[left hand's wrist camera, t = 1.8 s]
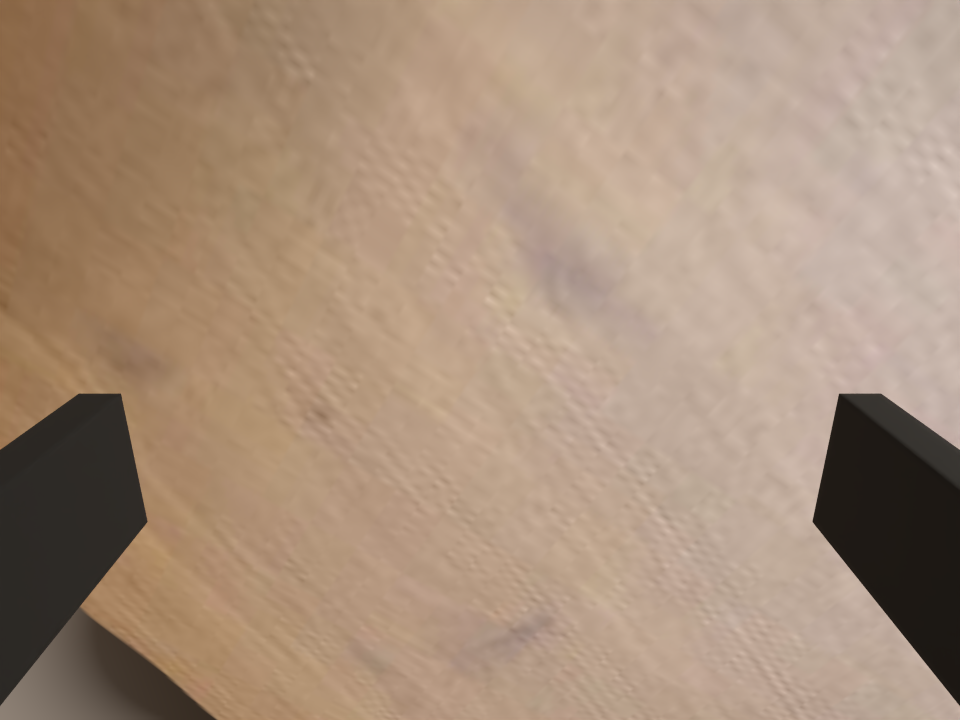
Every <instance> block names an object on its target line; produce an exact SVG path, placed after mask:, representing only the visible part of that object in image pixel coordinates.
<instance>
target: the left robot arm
mask: <svg viewBox="0 0 960 720" xmlns="http://www.w3.org/2000/svg"><path fill="white" fill-rule="evenodd" d="M146 523H147V517H146V512H145V508H144V503H143V498H142V493H141V488H140V483H139V479H138V474H137V469H136V464H135V459H134V455H133V450H132V445H131V440H130V435H129V431H128V426H127V421H126V416H125V411H124V407H123V402H122V397H121V394H78V395H76V396H75V397H74V398H72V399H71V400H69V401H68V402H67V403H65V404H64V405H62V406H61V407H60V408H58V409H57V410H56V411H54V412H53V413H51V414H50V415H49V416H47V417H46V418H44V419H43V420H42V421H40V422H39V423H37V424H36V425H35V426H33V427H32V428H30V429H29V430H28V431H26V432H25V433H23V434H22V435H21V436H19V437H18V438H16V439H15V440H14V441H12V442H11V443H9V444H8V445H7V446H5V447H4V448H2V449H1V450H0V705H1V704H2V703H3V702H4V700H5V699H6V698H7V697H8V695H9V694H10V693H11V692H12V690H13V689H14V688H15V687H16V685H17V684H18V683H19V682H20V680H21V679H22V678H23V677H24V675H25V674H26V673H27V672H28V670H29V669H30V668H31V667H32V665H33V664H34V663H35V662H36V660H37V659H38V658H39V657H40V655H41V654H42V653H43V652H44V650H45V649H46V648H47V647H48V645H49V644H50V643H51V642H52V640H53V639H54V638H55V637H56V635H57V634H58V633H59V632H60V630H61V629H62V628H63V627H64V625H65V624H66V623H67V622H68V620H69V619H70V618H71V617H72V615H73V614H74V613H75V612H76V610H77V609H78V608H79V607H80V605H81V604H82V603H83V602H84V600H85V599H86V598H87V597H88V595H89V594H90V593H91V592H92V590H93V589H94V588H95V587H96V585H97V584H98V583H99V582H100V581H101V579H102V578H103V577H104V576H105V574H106V573H107V572H108V571H109V569H110V568H111V567H112V566H113V564H114V563H115V562H116V561H117V559H118V558H119V557H120V556H121V554H122V553H123V552H124V551H125V549H126V548H127V547H128V546H129V544H130V543H131V542H132V541H133V539H134V538H135V537H136V536H137V534H138V533H139V532H140V531H141V529H142V528H143V527H144V526H145V524H146ZM813 523H814V524H815V526H816V527H817V528H818V529H819V531H820V532H821V533H822V534H823V536H824V537H825V538H826V539H827V541H828V542H829V543H830V544H831V546H832V547H833V548H834V549H835V551H836V552H837V553H838V554H839V556H840V557H841V558H842V559H843V561H844V562H845V563H846V564H847V566H848V567H849V568H850V569H851V571H852V572H853V573H854V574H855V576H856V577H857V578H858V579H859V581H860V582H861V583H862V584H863V586H864V587H865V588H866V589H867V590H868V592H869V593H870V594H871V595H872V597H873V598H874V599H875V600H876V602H877V603H878V604H879V605H880V607H881V608H882V609H883V610H884V612H885V613H886V614H887V615H888V617H889V618H890V619H891V620H892V622H893V623H894V624H895V625H896V627H897V628H898V629H899V630H900V632H901V633H902V634H903V635H904V637H905V638H906V639H907V640H908V642H909V643H910V644H911V645H912V647H913V648H914V649H915V650H916V652H917V653H918V654H919V655H920V657H921V658H922V659H923V660H924V662H925V663H926V664H927V665H928V667H929V668H930V669H931V670H932V672H933V673H934V674H935V675H936V677H937V678H938V679H939V680H940V682H941V683H942V684H943V685H944V687H945V688H946V689H947V690H948V692H949V693H950V694H951V695H952V697H953V698H954V699H955V700H956V702H957V703H958V704H959V705H960V450H959V449H958V448H956V447H955V446H953V445H952V444H951V443H949V442H948V441H946V440H945V439H944V438H942V437H941V436H939V435H938V434H937V433H935V432H934V431H932V430H931V429H930V428H928V427H927V426H925V425H924V424H923V423H921V422H920V421H918V420H917V419H916V418H914V417H913V416H911V415H910V414H909V413H907V412H906V411H904V410H903V409H902V408H900V407H899V406H897V405H896V404H895V403H893V402H892V401H891V400H889V399H888V398H886V397H885V396H884V395H882V394H839V397H838V402H837V407H836V411H835V416H834V421H833V426H832V431H831V435H830V440H829V445H828V450H827V455H826V459H825V464H824V469H823V474H822V479H821V483H820V488H819V493H818V498H817V503H816V507H815V512H814V517H813Z"/></svg>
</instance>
